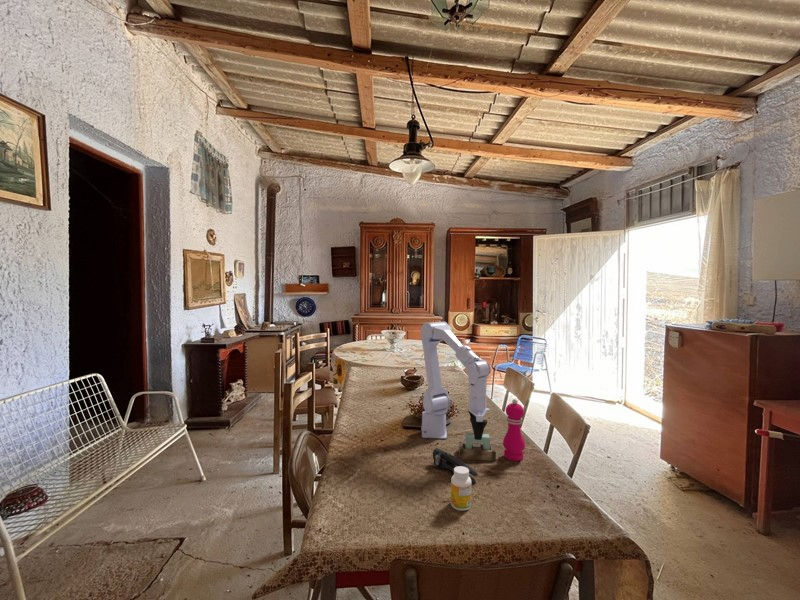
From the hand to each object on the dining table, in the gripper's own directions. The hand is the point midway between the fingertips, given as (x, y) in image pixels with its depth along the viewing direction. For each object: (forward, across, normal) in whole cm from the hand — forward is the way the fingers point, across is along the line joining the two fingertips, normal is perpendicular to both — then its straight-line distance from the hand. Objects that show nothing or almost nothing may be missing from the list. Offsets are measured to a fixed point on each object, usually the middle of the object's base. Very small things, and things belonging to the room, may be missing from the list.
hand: (476, 434), depth 129 cm
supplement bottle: (+7, -30, +7) cm, 32 cm away
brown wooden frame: (+7, 0, 0) cm, 7 cm away
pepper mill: (+7, 0, -13) cm, 15 cm away
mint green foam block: (+7, 0, 0) cm, 7 cm away
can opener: (+8, -13, +8) cm, 17 cm away
